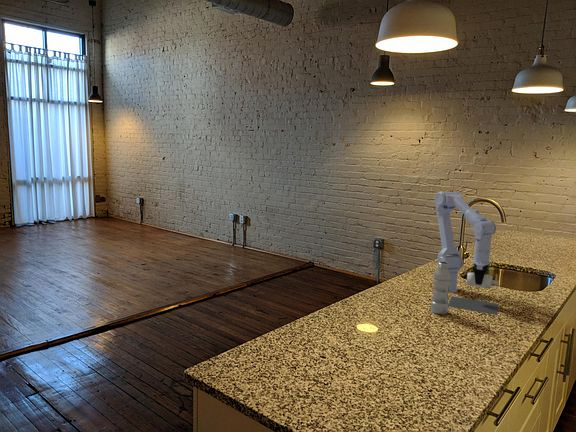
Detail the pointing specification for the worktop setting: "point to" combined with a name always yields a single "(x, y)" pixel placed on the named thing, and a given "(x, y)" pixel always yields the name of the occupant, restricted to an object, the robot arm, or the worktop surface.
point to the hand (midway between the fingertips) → (478, 282)
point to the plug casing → (485, 284)
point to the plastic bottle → (441, 289)
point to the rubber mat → (474, 305)
